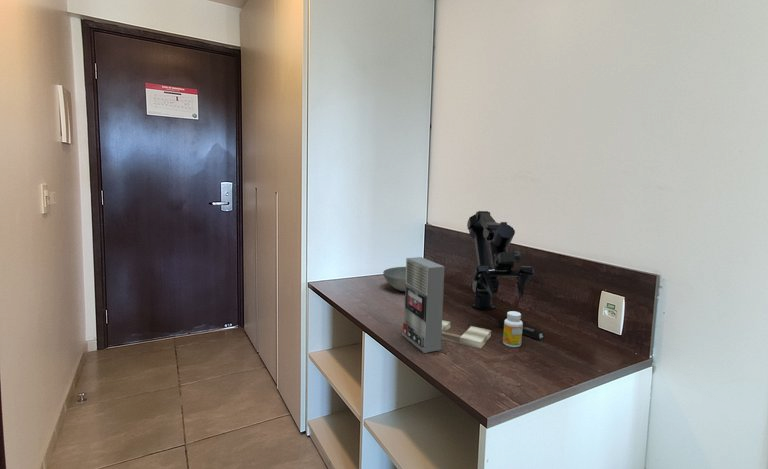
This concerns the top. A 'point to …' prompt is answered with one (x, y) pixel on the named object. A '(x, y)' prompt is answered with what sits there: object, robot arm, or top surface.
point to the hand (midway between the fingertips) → (507, 296)
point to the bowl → (396, 277)
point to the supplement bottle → (513, 329)
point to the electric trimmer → (528, 331)
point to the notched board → (466, 336)
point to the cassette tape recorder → (423, 304)
